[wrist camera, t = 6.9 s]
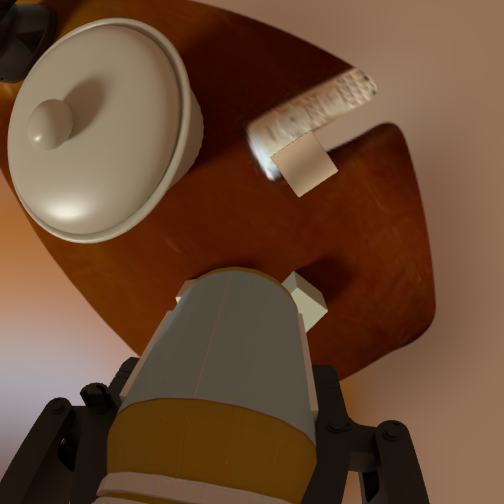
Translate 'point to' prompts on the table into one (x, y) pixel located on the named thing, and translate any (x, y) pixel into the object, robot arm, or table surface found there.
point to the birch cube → (304, 163)
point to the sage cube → (306, 299)
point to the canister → (102, 130)
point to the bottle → (218, 402)
